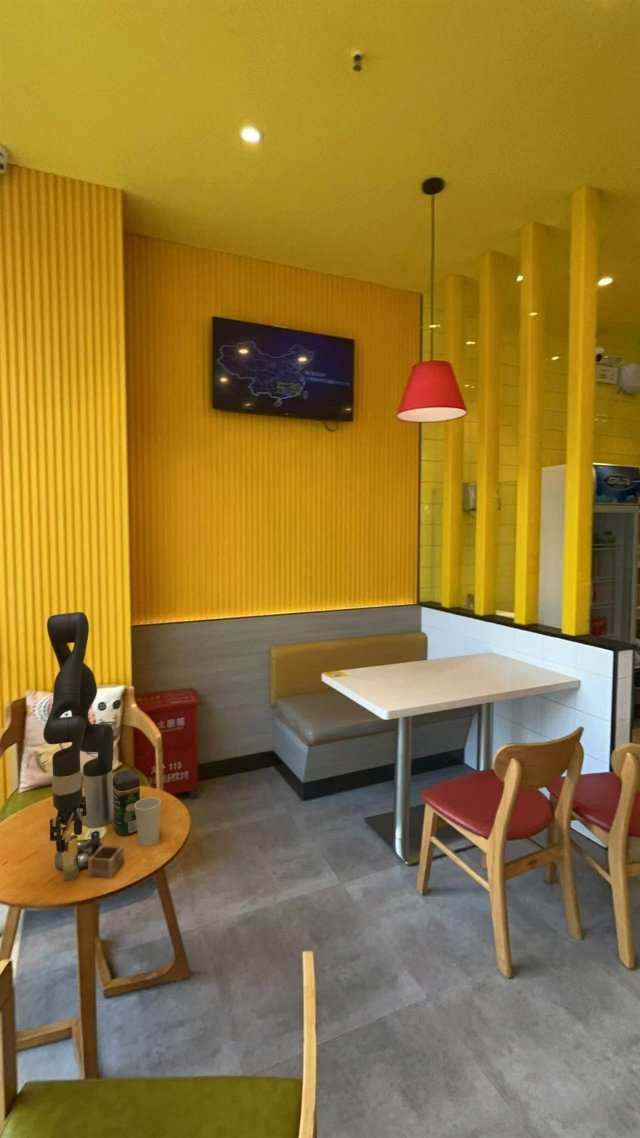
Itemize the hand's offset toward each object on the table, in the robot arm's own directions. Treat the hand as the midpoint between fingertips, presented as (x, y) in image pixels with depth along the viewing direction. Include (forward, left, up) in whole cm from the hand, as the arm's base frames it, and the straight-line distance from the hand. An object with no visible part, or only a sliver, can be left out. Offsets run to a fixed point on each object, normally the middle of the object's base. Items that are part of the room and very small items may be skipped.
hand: (69, 842), depth 151 cm
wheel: (-8, -2, -10) cm, 13 cm away
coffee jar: (-25, +4, -10) cm, 27 cm away
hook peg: (+1, 0, -10) cm, 10 cm away
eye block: (-3, +9, -10) cm, 13 cm away
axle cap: (-8, -2, -6) cm, 10 cm away
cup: (-19, +14, -10) cm, 26 cm away
